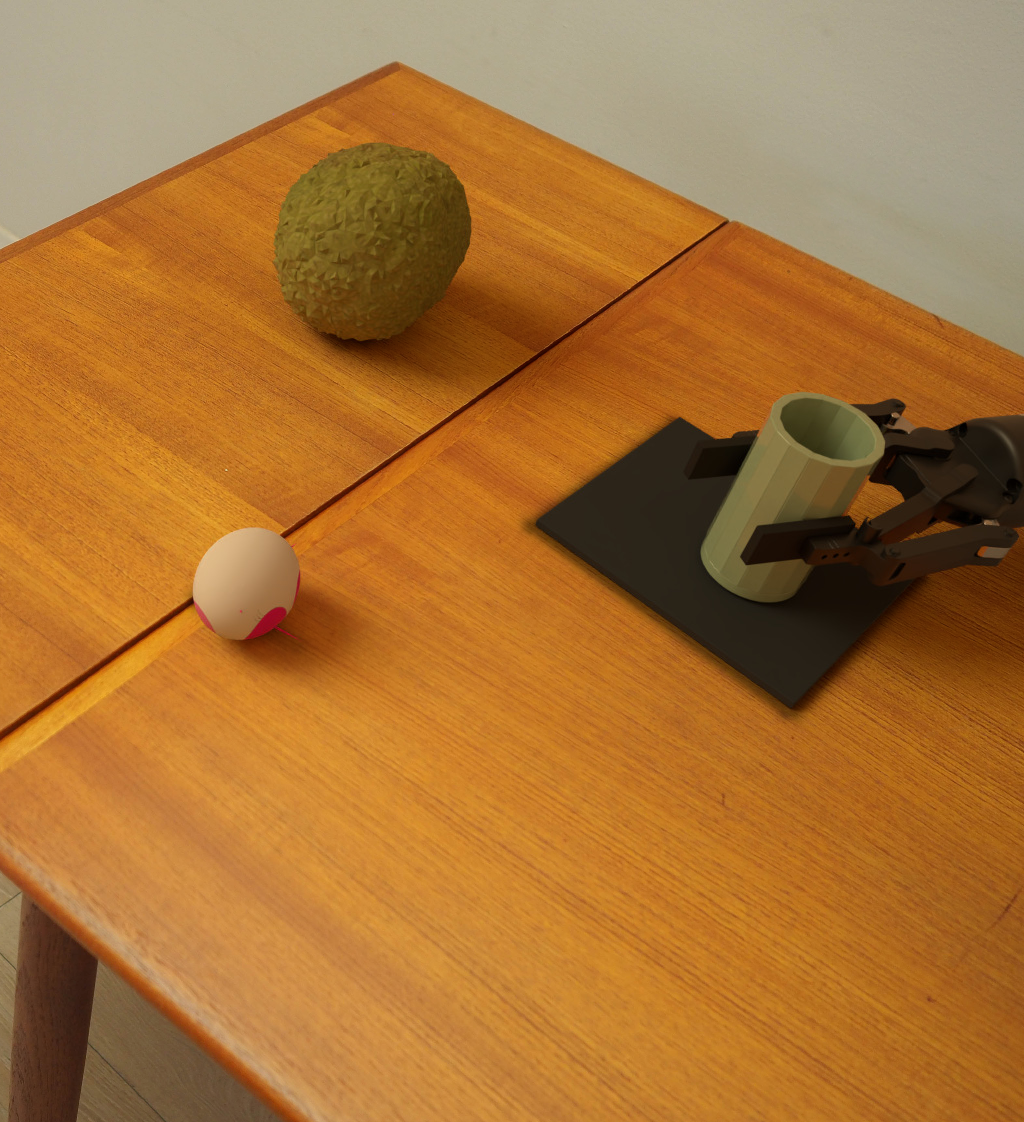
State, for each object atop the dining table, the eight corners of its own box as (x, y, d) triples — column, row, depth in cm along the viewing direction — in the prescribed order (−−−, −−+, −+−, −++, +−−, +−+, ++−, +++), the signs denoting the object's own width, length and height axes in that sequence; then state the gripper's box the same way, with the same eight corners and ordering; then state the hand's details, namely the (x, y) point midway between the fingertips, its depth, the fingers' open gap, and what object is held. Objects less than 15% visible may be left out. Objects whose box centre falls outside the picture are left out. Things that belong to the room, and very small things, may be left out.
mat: (919, 575, 87) (923, 569, 87) (791, 709, 78) (795, 703, 77) (677, 422, 96) (679, 416, 96) (534, 525, 86) (536, 519, 86)
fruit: (250, 245, 106) (350, 83, 99) (393, 338, 108) (500, 185, 102) (225, 298, 91) (339, 112, 85) (390, 403, 94) (514, 230, 87)
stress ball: (233, 699, 77) (297, 674, 72) (144, 604, 75) (203, 571, 70) (294, 619, 82) (359, 590, 77) (212, 528, 80) (272, 491, 75)
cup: (819, 571, 85) (904, 436, 77) (769, 619, 81) (852, 483, 73) (733, 514, 88) (805, 378, 79) (680, 558, 84) (750, 420, 76)
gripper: (1087, 619, 81) (777, 663, 75) (910, 417, 94) (633, 441, 88) (1160, 537, 76) (832, 577, 70) (961, 334, 88) (670, 354, 83)
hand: (721, 501), depth 79 cm, fingers closed on cup, 7 cm apart
